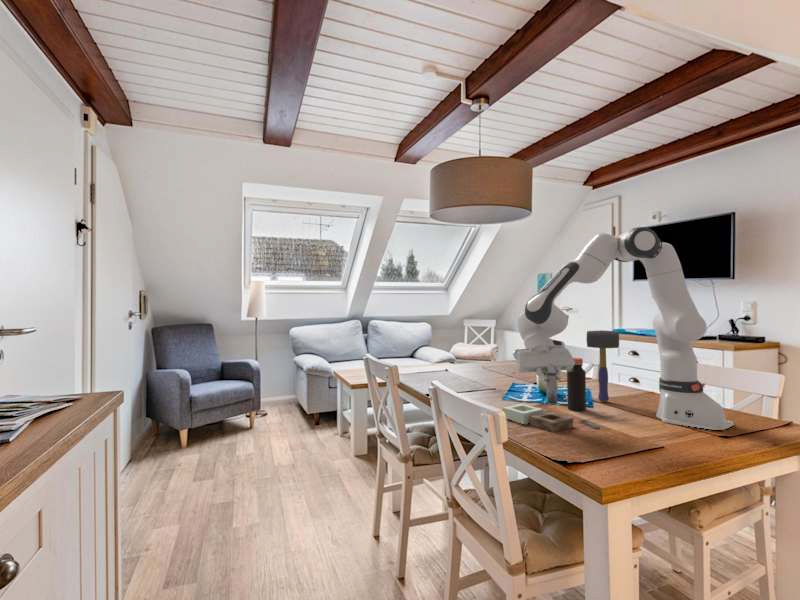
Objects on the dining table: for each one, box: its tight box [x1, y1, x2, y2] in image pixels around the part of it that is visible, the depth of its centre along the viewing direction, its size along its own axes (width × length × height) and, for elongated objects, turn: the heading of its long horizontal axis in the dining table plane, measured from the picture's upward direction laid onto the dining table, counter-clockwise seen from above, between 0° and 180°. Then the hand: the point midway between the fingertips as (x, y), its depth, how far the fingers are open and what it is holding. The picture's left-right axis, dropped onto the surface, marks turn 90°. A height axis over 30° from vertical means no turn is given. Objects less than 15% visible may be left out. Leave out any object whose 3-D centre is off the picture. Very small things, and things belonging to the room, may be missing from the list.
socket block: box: [529, 411, 574, 433], centre depth 148 cm, size 10×10×3 cm
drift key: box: [579, 419, 600, 430], centre depth 148 cm, size 8×2×1 cm, turn 11°
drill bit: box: [545, 364, 558, 405], centre depth 148 cm, size 3×3×13 cm
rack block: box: [502, 403, 544, 425], centre depth 156 cm, size 10×10×4 cm
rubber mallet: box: [586, 330, 620, 403], centre depth 180 cm, size 12×8×30 cm, turn 66°
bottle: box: [566, 357, 587, 412], centre depth 169 cm, size 7×7×20 cm
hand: (552, 379), depth 147 cm, fingers closed on drill bit, 3 cm apart
